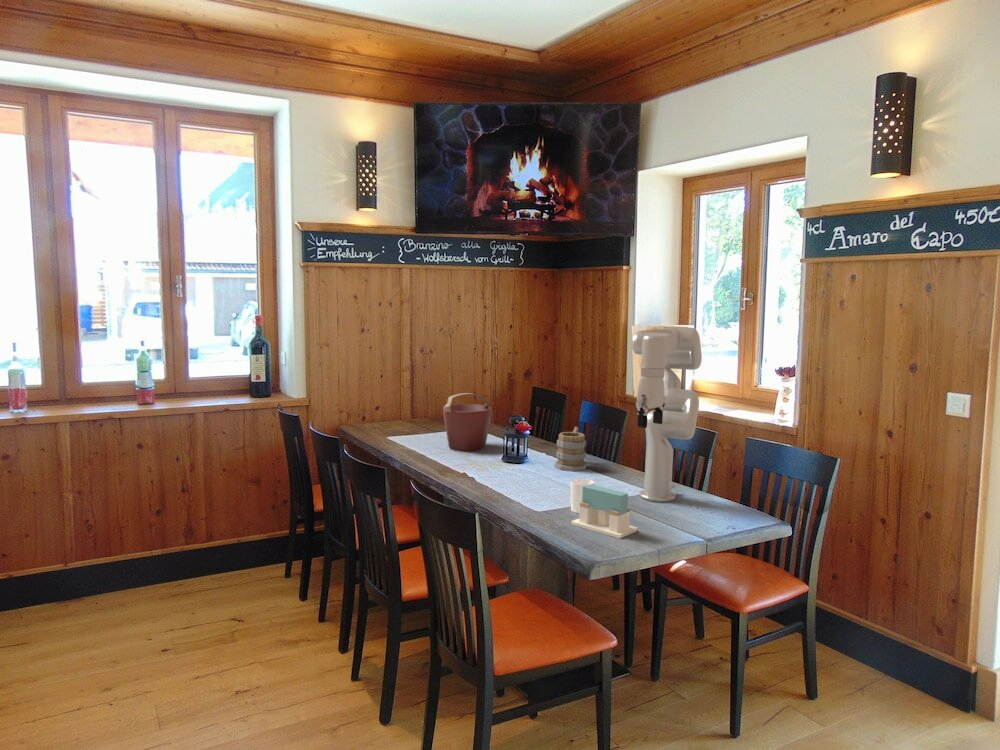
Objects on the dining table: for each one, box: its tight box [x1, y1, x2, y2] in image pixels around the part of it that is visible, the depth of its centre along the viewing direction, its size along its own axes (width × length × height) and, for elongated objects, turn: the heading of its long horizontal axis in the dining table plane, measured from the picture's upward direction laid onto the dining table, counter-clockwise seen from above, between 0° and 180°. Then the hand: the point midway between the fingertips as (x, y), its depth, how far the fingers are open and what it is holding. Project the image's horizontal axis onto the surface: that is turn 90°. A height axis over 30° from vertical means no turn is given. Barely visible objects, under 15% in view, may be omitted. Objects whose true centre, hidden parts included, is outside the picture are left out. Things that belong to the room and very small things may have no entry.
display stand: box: [570, 502, 639, 539], centre depth 226 cm, size 10×18×7 cm, turn 49°
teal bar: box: [582, 484, 629, 515], centre depth 225 cm, size 4×14×6 cm, turn 48°
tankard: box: [554, 426, 588, 472], centre depth 304 cm, size 20×13×15 cm, turn 162°
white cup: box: [569, 478, 595, 514], centre depth 242 cm, size 8×8×10 cm
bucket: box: [442, 392, 493, 452], centre depth 332 cm, size 24×22×25 cm
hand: (649, 425), depth 236 cm, fingers open, 9 cm apart
